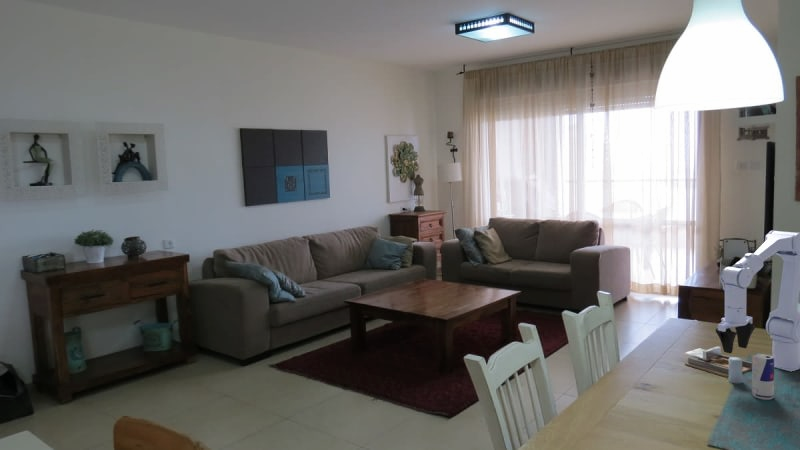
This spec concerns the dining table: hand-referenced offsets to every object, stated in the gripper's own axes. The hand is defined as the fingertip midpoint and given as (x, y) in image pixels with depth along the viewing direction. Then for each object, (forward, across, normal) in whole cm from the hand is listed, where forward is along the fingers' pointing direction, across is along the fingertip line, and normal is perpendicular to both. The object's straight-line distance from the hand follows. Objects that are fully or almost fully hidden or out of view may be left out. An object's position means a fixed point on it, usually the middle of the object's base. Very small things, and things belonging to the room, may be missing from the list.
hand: (735, 350), depth 177 cm
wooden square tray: (+10, -8, -10) cm, 16 cm away
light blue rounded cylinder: (+10, 0, 0) cm, 10 cm away
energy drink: (+10, +5, +11) cm, 16 cm away
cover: (+8, -8, -16) cm, 20 cm away
